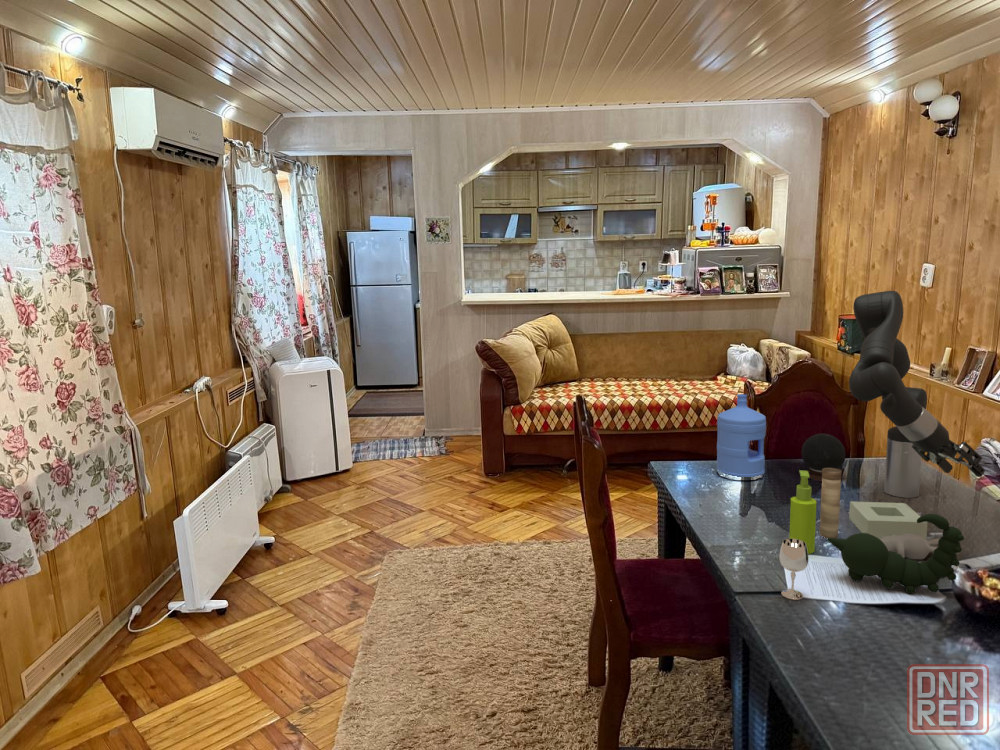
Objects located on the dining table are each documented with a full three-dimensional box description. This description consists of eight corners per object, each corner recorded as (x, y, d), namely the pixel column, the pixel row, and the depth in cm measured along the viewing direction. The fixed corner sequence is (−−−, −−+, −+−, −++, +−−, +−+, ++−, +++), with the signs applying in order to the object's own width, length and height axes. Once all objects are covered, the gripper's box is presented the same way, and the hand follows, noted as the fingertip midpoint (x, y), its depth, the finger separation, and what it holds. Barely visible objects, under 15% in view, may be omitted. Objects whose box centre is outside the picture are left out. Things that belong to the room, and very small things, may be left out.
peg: (817, 532, 176) (820, 467, 173) (835, 532, 175) (838, 467, 172) (822, 538, 172) (825, 472, 169) (840, 539, 171) (844, 473, 168)
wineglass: (806, 590, 145) (809, 539, 143) (806, 603, 140) (809, 550, 138) (778, 586, 148) (780, 536, 146) (777, 598, 142) (779, 546, 140)
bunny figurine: (872, 529, 167) (940, 529, 162) (873, 549, 167) (942, 548, 162) (879, 544, 158) (952, 544, 153) (881, 564, 159) (953, 565, 153)
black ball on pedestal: (848, 476, 220) (851, 432, 218) (837, 486, 211) (840, 441, 208) (807, 469, 229) (809, 427, 227) (795, 479, 219) (796, 435, 217)
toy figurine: (946, 592, 146) (822, 563, 157) (962, 512, 142) (834, 488, 153) (953, 612, 137) (821, 580, 148) (970, 528, 134) (834, 502, 144)
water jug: (714, 479, 221) (716, 398, 217) (718, 466, 236) (719, 389, 231) (764, 483, 215) (766, 400, 211) (764, 469, 230) (767, 391, 225)
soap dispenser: (812, 544, 169) (815, 469, 166) (815, 555, 162) (819, 477, 159) (787, 541, 171) (790, 467, 167) (789, 552, 164) (792, 476, 161)
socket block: (849, 518, 184) (850, 501, 184) (903, 520, 182) (904, 503, 181) (866, 538, 171) (868, 520, 170) (926, 540, 168) (927, 522, 167)
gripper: (955, 416, 148) (1001, 462, 150) (905, 415, 162) (947, 457, 164) (938, 442, 147) (984, 488, 149) (888, 438, 161) (931, 480, 163)
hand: (965, 472), depth 157 cm, fingers open, 8 cm apart
